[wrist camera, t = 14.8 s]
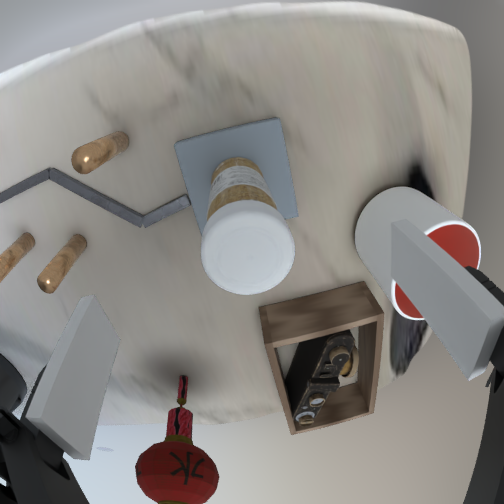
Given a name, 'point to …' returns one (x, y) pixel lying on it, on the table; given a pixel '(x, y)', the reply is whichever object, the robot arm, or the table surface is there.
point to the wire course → (84, 163)
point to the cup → (425, 219)
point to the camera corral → (320, 324)
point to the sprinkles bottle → (244, 231)
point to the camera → (319, 372)
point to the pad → (231, 146)
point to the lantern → (177, 462)
